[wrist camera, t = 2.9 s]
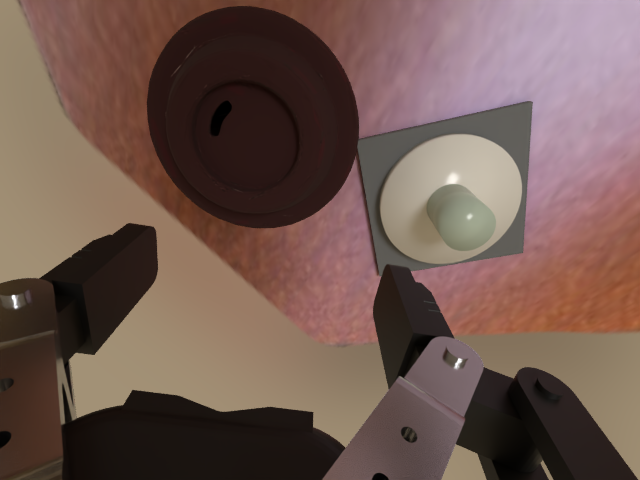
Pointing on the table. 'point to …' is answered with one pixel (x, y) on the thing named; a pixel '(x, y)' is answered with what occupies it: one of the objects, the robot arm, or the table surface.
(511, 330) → the table surface
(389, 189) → the lid
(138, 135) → the table surface
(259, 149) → the coffee cup
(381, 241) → the mat
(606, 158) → the table surface
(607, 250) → the table surface
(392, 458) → the robot arm
